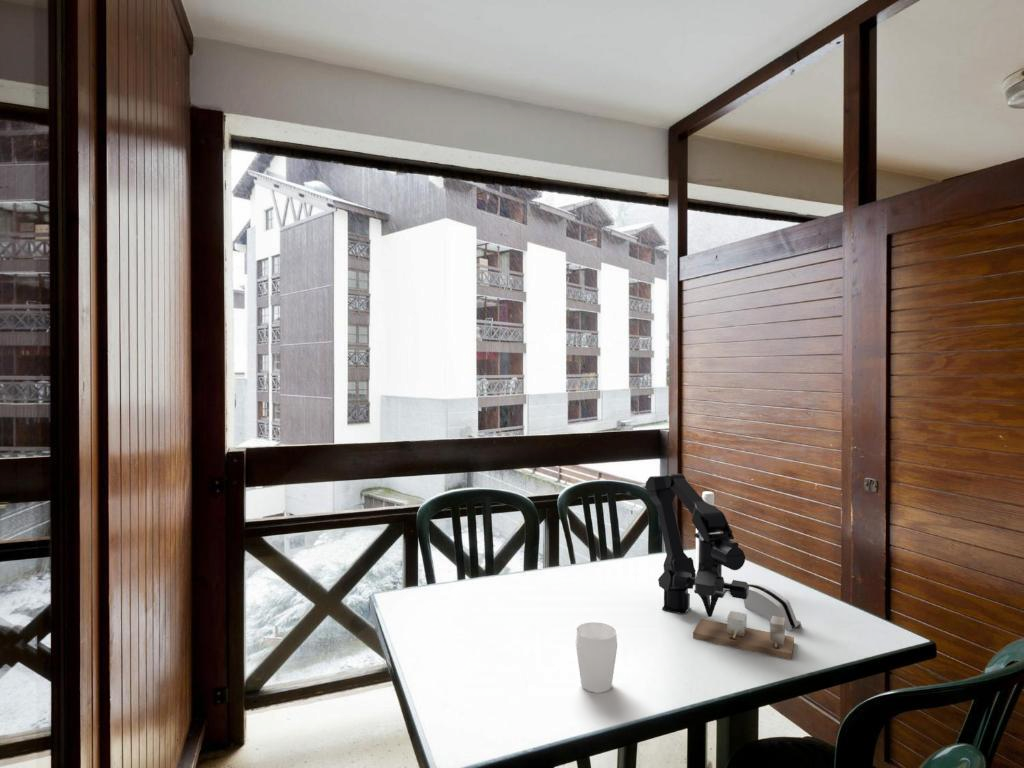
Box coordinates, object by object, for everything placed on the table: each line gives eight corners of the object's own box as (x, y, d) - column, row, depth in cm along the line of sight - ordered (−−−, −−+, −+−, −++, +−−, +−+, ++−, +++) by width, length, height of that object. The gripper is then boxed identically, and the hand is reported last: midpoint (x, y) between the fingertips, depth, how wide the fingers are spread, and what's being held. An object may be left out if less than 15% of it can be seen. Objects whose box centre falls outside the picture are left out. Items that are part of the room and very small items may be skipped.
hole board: (692, 638, 148) (693, 613, 148) (700, 623, 156) (700, 600, 156) (791, 659, 136) (791, 632, 136) (793, 643, 145) (794, 617, 145)
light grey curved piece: (803, 628, 154) (793, 595, 152) (790, 636, 152) (780, 603, 151) (758, 605, 169) (749, 574, 168) (745, 612, 168) (736, 582, 167)
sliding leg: (725, 637, 145) (725, 621, 144) (730, 625, 151) (730, 610, 151) (742, 640, 143) (742, 624, 143) (746, 629, 149) (746, 613, 149)
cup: (572, 675, 129) (572, 622, 129) (611, 673, 130) (611, 621, 130) (580, 697, 120) (580, 640, 120) (622, 695, 121) (622, 639, 121)
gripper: (667, 560, 149) (667, 620, 149) (743, 573, 140) (743, 636, 140) (677, 549, 158) (677, 605, 159) (749, 560, 149) (749, 619, 149)
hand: (709, 616), depth 151 cm, fingers closed
